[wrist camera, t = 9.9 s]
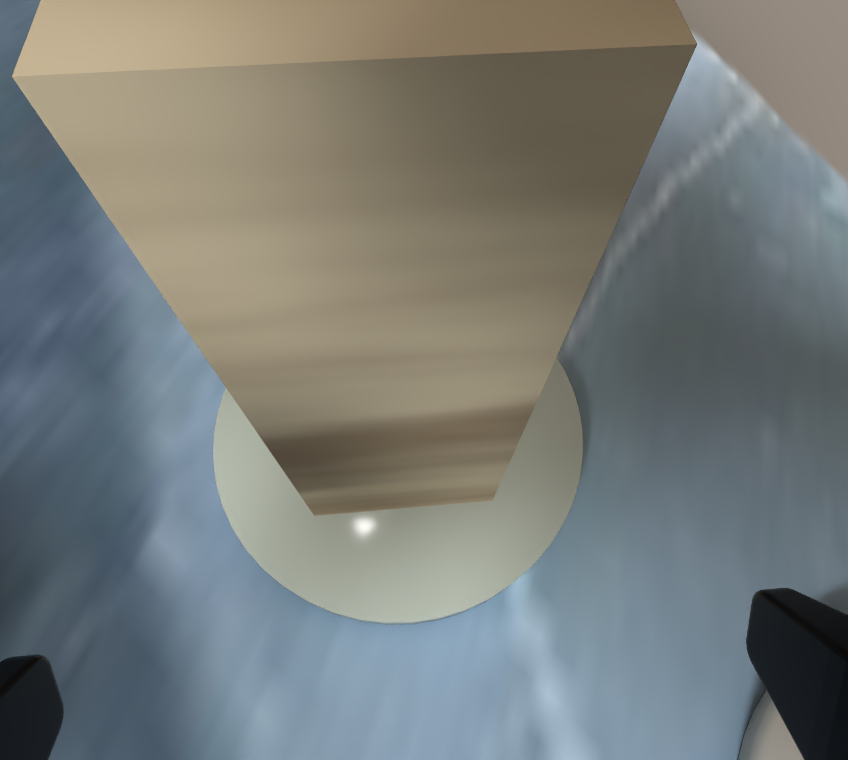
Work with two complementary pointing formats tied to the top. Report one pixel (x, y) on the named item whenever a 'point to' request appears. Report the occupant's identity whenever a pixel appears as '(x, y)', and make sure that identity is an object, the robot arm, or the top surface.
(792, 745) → the beige flat disc
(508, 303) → the tan wooden block
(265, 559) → the beige round flat piece
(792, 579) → the top surface
